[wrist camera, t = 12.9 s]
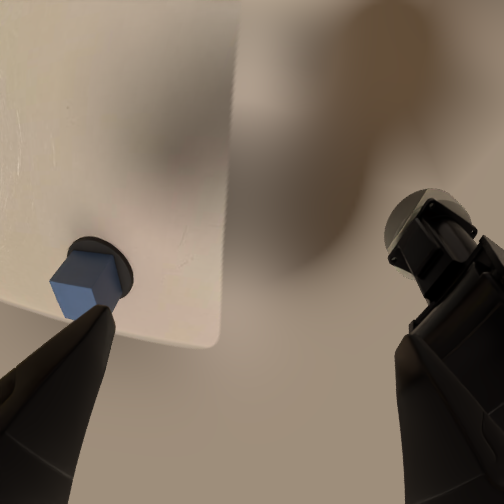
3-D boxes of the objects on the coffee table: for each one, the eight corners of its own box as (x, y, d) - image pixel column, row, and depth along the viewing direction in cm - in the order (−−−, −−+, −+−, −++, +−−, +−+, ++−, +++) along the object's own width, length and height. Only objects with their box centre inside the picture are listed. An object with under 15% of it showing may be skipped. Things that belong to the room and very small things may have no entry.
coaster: (137, 253, 22) (136, 256, 22) (129, 306, 26) (128, 309, 26) (68, 226, 21) (66, 229, 21) (69, 281, 25) (67, 284, 25)
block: (122, 292, 24) (105, 327, 21) (84, 286, 25) (64, 318, 21) (113, 254, 22) (91, 288, 19) (73, 249, 22) (48, 280, 19)
